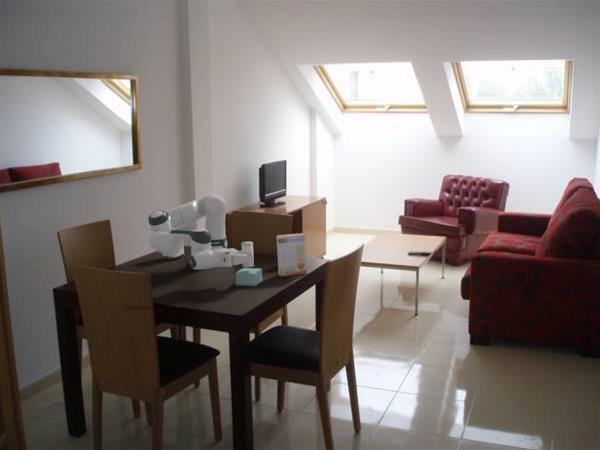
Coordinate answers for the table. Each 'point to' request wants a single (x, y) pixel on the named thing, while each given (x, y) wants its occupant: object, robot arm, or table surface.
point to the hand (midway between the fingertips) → (249, 253)
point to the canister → (247, 248)
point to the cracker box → (291, 254)
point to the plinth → (249, 277)
